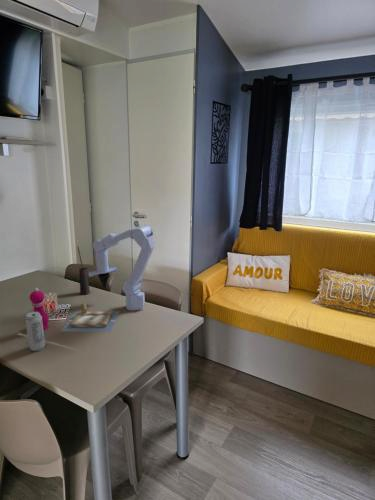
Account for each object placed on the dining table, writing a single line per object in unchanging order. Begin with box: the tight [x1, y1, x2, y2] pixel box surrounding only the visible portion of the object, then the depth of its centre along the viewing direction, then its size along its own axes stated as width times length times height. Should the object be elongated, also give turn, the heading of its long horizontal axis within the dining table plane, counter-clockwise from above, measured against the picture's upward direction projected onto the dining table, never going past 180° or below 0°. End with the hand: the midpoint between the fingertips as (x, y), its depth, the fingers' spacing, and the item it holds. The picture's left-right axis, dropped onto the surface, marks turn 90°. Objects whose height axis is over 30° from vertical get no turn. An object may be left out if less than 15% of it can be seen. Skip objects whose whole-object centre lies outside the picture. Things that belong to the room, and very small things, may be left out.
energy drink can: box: [24, 311, 46, 352], centre depth 134 cm, size 6×6×15 cm
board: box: [60, 310, 120, 333], centre depth 157 cm, size 22×20×1 cm
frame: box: [70, 302, 112, 327], centre depth 156 cm, size 16×12×6 cm
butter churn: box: [77, 245, 91, 296], centre depth 187 cm, size 9×10×28 cm
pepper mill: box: [29, 287, 50, 331], centre depth 148 cm, size 7×7×20 cm
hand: (104, 286), depth 175 cm, fingers closed
